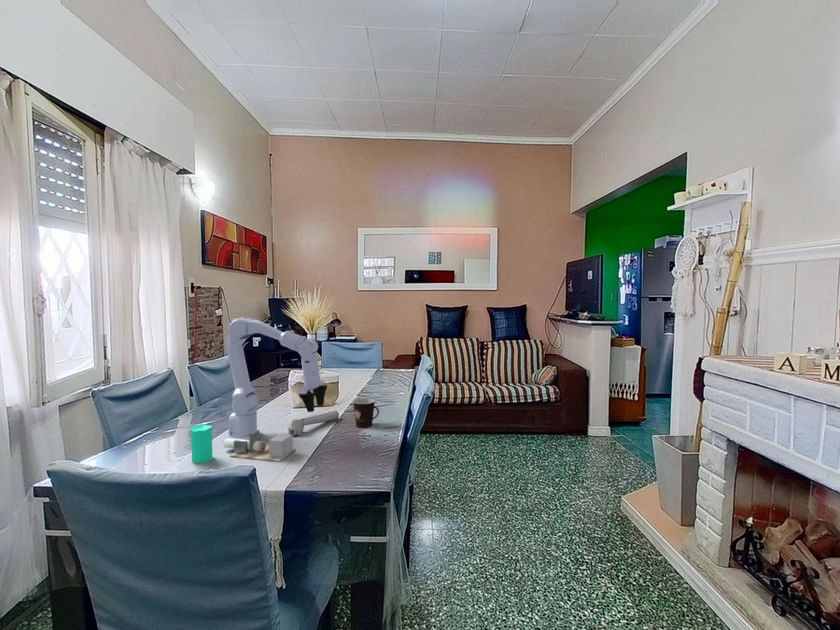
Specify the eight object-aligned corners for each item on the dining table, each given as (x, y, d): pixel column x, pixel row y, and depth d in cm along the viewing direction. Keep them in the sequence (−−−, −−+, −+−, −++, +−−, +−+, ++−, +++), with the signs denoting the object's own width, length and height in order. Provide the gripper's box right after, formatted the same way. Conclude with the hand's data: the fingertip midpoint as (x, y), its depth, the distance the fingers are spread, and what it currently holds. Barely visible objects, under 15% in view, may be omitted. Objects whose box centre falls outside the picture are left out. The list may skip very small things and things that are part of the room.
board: (229, 456, 133) (229, 455, 133) (249, 445, 143) (249, 444, 143) (278, 462, 129) (278, 460, 129) (295, 450, 138) (295, 448, 138)
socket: (269, 456, 131) (269, 440, 131) (281, 449, 138) (280, 433, 137) (281, 458, 130) (281, 441, 130) (292, 450, 137) (292, 434, 136)
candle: (189, 459, 131) (188, 422, 130) (209, 454, 135) (208, 418, 134) (194, 465, 126) (193, 427, 126) (215, 459, 131) (214, 422, 130)
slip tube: (223, 449, 137) (222, 431, 137) (231, 445, 141) (230, 427, 141) (259, 453, 134) (259, 434, 133) (266, 449, 138) (266, 430, 137)
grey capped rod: (340, 410, 173) (295, 418, 151) (339, 426, 172) (294, 436, 151) (331, 409, 175) (285, 416, 154) (329, 424, 175) (284, 434, 153)
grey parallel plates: (233, 452, 135) (233, 441, 135) (245, 446, 141) (245, 435, 140) (245, 454, 134) (245, 442, 134) (256, 447, 140) (256, 436, 139)
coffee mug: (350, 424, 166) (350, 399, 166) (370, 421, 170) (370, 397, 170) (359, 432, 156) (359, 406, 156) (380, 429, 160) (380, 404, 160)
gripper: (311, 375, 141) (316, 414, 142) (329, 367, 155) (334, 402, 156) (293, 376, 143) (298, 414, 143) (313, 368, 157) (317, 403, 157)
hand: (315, 408), depth 150 cm, fingers open, 7 cm apart
